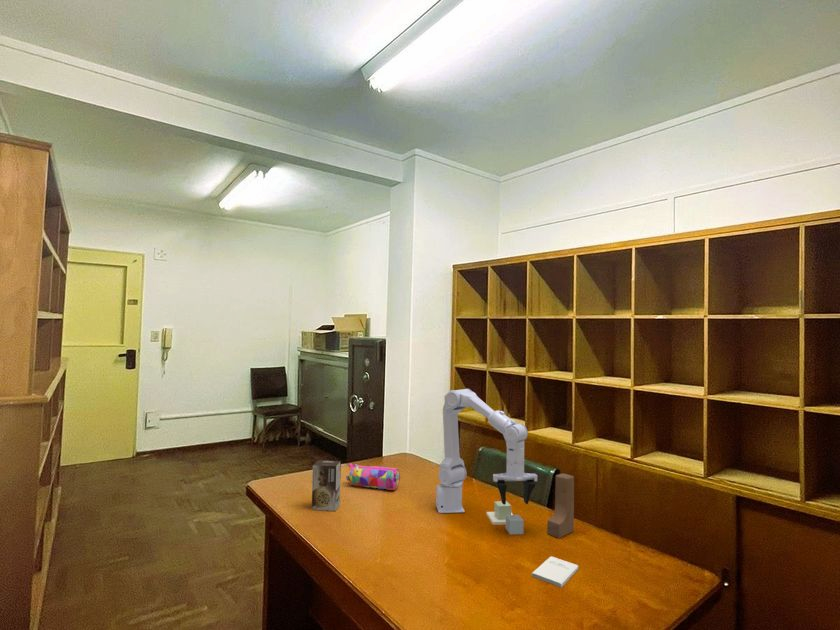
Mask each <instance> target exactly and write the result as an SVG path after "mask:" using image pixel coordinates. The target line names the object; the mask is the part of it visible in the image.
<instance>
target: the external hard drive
mask: <svg viewBox="0 0 840 630" xmlns="http://www.w3.org/2000/svg"><path fill="white" fill-rule="evenodd" d="M578 570H579V565H578V564H575V563H572V562H570V561H568V560H567V561H566V560H563V559H560V558H557V557H555V556H549V557H548V558H547V559H546V560H545V561H543V562H542V563H541V564H540V565H539V566H538V567H537V568H536V569H535V570H534V571H533V572H531V577H533V578H535V579H538V580H540V581H543V582H546V583H548V584H551V585H554V586H556V587H559V588H563V587H564V586H565V584H567V582H568V581H569V580H570V579H572V576H574V575H575V573H577V571H578Z"/></svg>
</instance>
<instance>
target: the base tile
mask: <svg viewBox="0 0 840 630" xmlns="http://www.w3.org/2000/svg"><path fill="white" fill-rule="evenodd" d="M485 514H486V516H487V518H488V519H489V521H490V522H491V524H492V525H494V526H495V525H496V526H497V525H498V526H499V525H506V519H504V520H498V518H497V517H496V516H495V515H494V511H486V513H485ZM511 515H514V514H513V512H512V511H511Z"/></svg>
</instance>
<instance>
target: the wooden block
mask: <svg viewBox="0 0 840 630" xmlns="http://www.w3.org/2000/svg"><path fill="white" fill-rule="evenodd" d="M554 489H555V490H554V491H555V493H554V495H555V497H554V498H555V500H554V501H555V503H554V505H555V506H554V510H553V511H554V512H553V514H552V516H551V517H549V518H548V519H547V524H546V525H547V528H546V530H547V531H546V532H547V534H548V535H551V536H552V537H555V538H557V539H560V538H562V537H564V536H565V537H566V536H567V535H568V534H570V533H573V532H574V531H575V529H574V527H575V526H574V525H575V522H574V521H575V520H574V518H575V477H574V475H571V474H567V473H559V474H556V475H555V488H554Z"/></svg>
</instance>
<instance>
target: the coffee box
mask: <svg viewBox="0 0 840 630" xmlns="http://www.w3.org/2000/svg"><path fill="white" fill-rule="evenodd" d="M341 465H342V461H341V460H339V461H338V460H319V459H318V460H317V461H316V462H315V463H314V464H313V465H312V482H311V483H312V485H311V488H312V489H311V490H312V491H311V510H312V509H313V510H312V511H326V510H328V511H327V512H336V511H337V510H338V508H339V507H340V505H341V478H342V477H341V474H342V473H341V472H342V470H341V469H342V466H341Z"/></svg>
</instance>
